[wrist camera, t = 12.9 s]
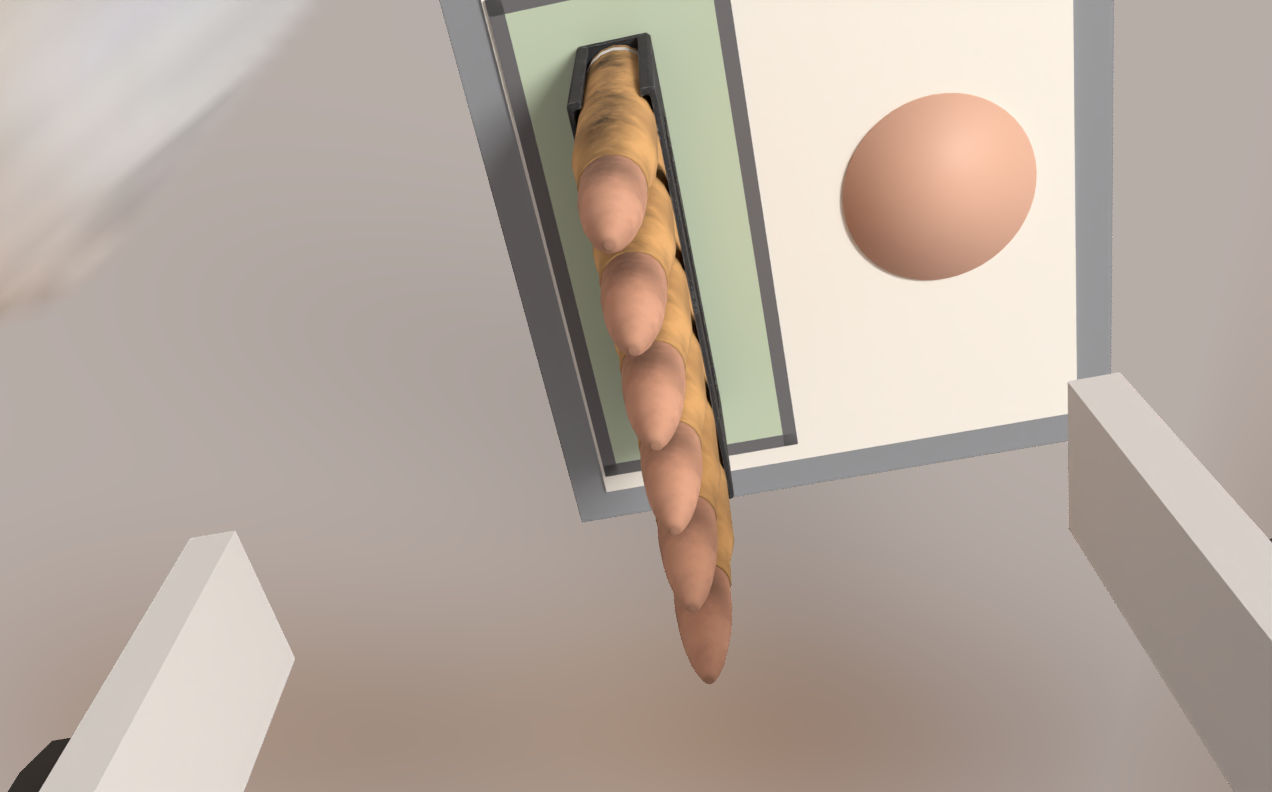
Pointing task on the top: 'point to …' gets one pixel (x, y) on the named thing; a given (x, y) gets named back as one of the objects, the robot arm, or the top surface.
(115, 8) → the top surface
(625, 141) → the ammunition clip
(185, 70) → the top surface
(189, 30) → the top surface
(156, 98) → the top surface
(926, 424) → the board
